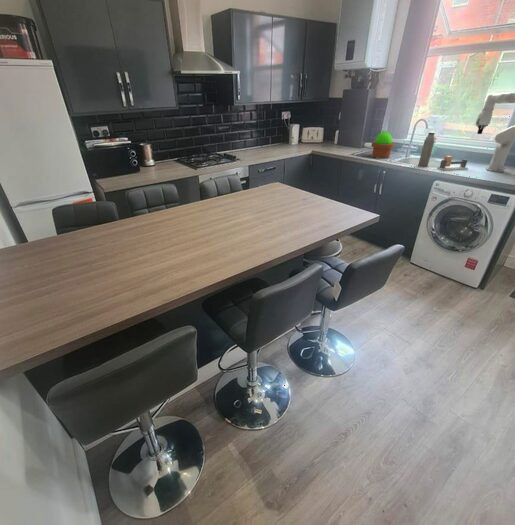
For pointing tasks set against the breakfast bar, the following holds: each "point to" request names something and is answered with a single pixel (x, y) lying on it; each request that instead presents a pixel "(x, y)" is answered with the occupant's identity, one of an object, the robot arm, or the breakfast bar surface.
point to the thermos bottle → (427, 150)
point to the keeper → (448, 160)
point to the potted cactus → (382, 145)
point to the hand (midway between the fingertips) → (479, 133)
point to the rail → (461, 167)
